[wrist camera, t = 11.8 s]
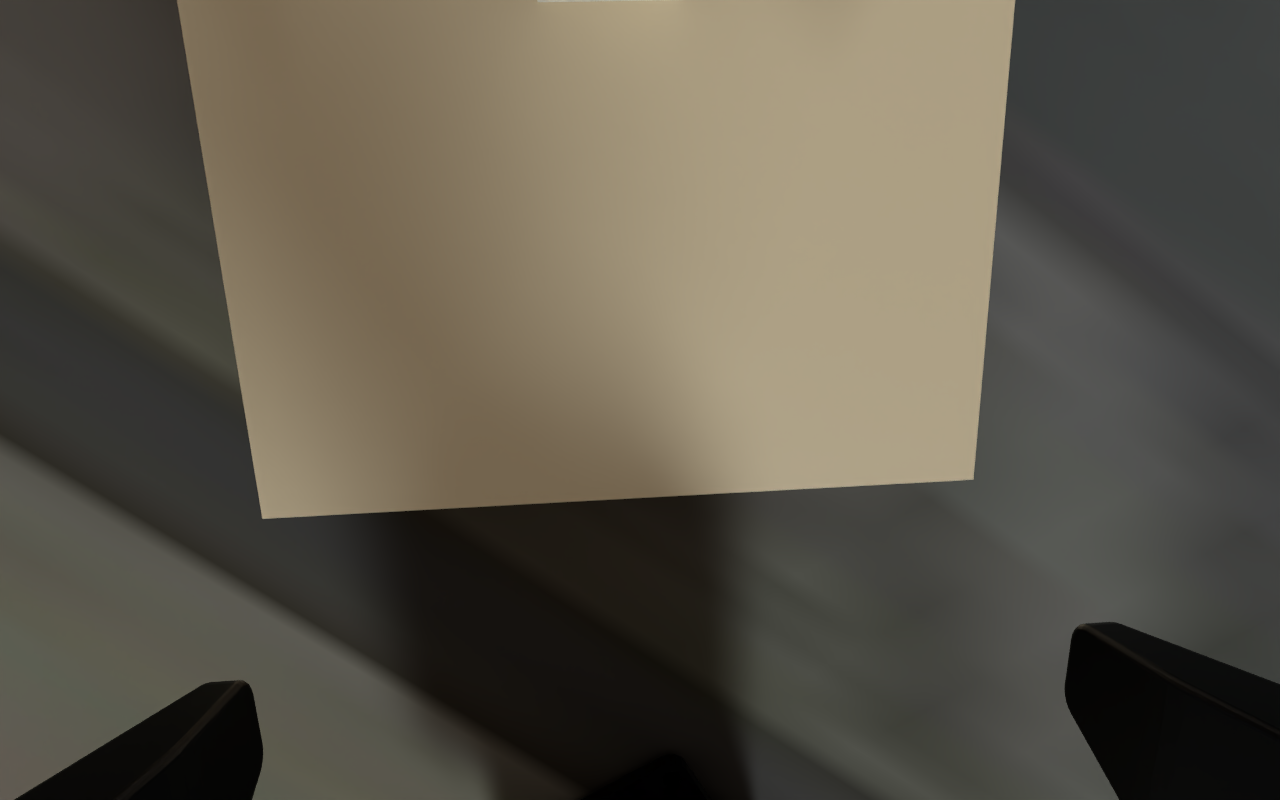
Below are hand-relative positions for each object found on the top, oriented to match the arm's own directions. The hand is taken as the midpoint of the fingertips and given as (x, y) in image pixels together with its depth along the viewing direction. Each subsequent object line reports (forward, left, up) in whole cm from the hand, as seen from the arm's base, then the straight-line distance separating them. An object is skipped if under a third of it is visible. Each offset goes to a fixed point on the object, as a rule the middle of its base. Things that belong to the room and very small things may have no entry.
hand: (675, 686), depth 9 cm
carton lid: (+2, +5, -8) cm, 10 cm away
